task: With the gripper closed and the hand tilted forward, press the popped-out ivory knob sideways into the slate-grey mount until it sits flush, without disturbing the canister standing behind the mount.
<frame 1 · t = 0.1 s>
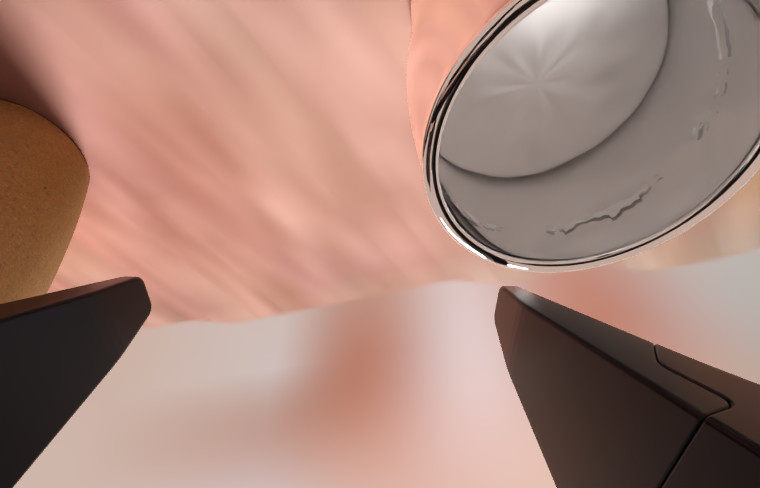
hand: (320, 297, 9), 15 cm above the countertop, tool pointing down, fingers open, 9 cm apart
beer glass: (472, 2, 18), on the countertop
plant pot: (29, 148, 25), on the countertop
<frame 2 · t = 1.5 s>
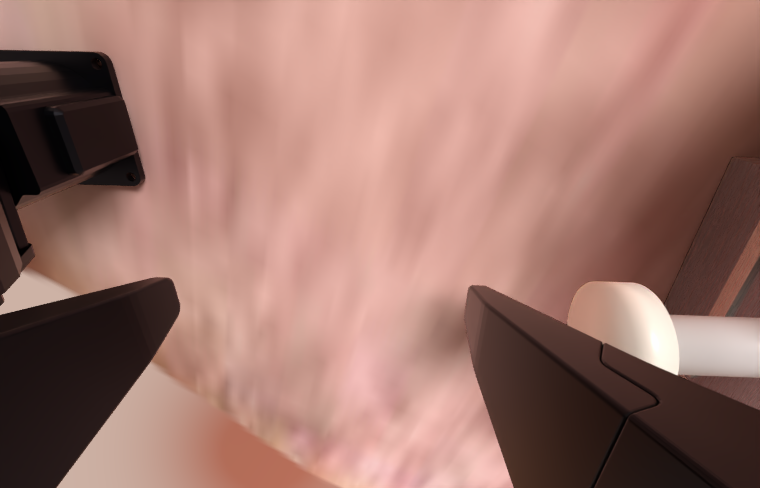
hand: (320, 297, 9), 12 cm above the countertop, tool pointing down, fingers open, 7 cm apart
mount: (680, 257, 22), on the countertop
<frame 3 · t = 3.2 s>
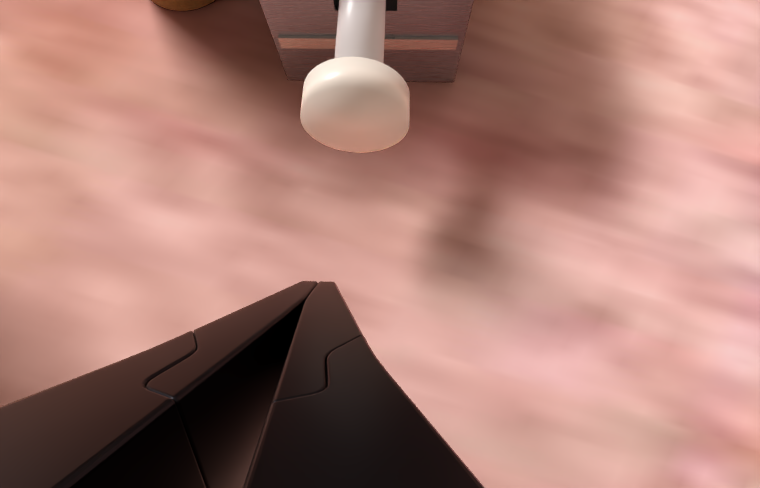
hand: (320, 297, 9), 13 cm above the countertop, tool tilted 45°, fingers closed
knob: (362, 10, 19), point 7 cm above the countertop, slide at 0.0 cm
mount: (370, 84, 27), on the countertop
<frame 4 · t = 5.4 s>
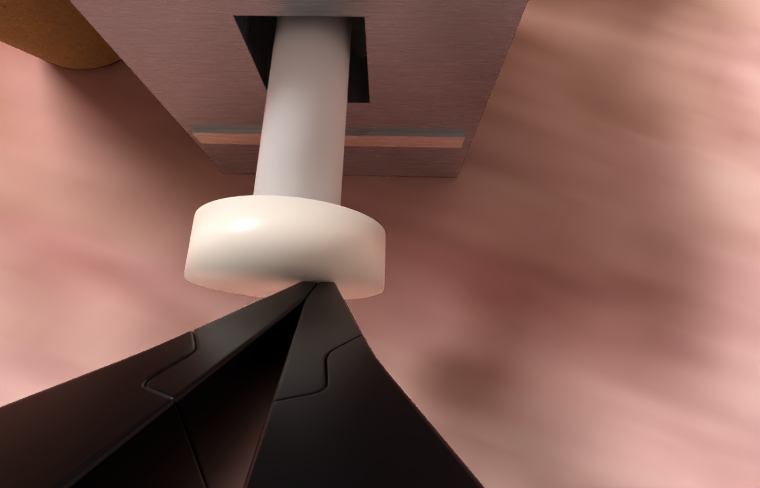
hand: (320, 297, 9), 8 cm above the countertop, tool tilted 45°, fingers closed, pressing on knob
knob: (310, 74, 12), point 8 cm above the countertop, slide at 1.7 cm, touching gripper
plant pot: (99, 26, 22), on the countertop
mount: (338, 180, 19), on the countertop
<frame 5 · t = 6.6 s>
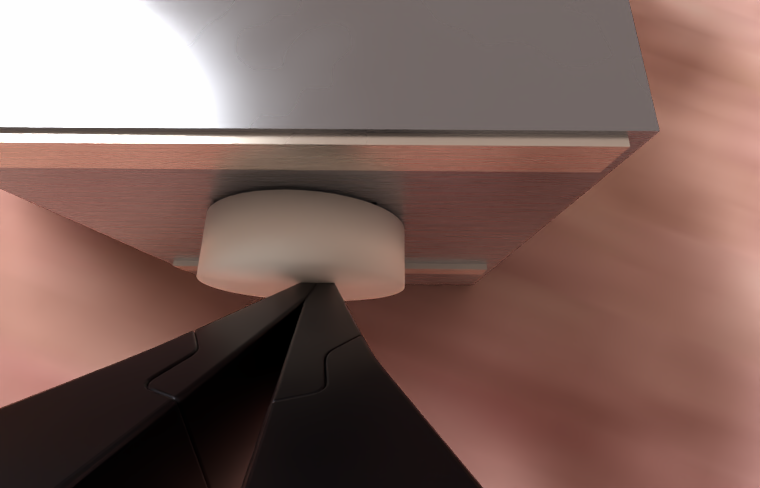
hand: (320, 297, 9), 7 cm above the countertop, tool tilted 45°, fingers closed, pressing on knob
knob: (321, 67, 11), point 8 cm above the countertop, slide at 7.3 cm, touching gripper
mount: (341, 289, 17), on the countertop
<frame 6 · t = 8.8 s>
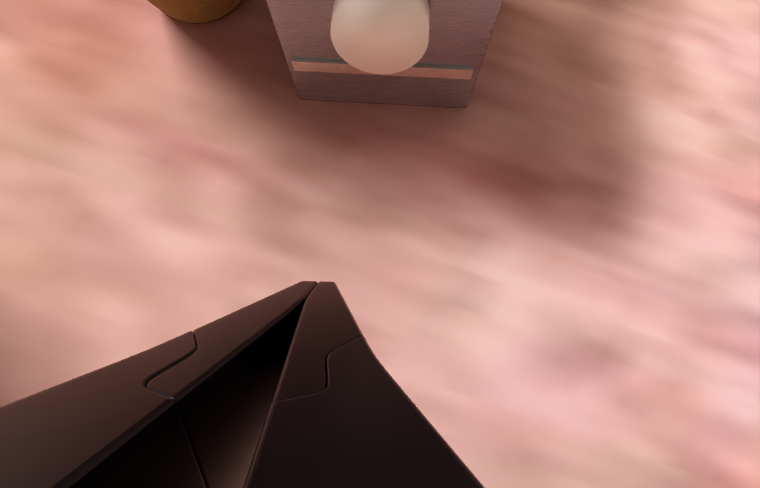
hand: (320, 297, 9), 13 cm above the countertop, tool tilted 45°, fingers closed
mount: (381, 107, 27), on the countertop
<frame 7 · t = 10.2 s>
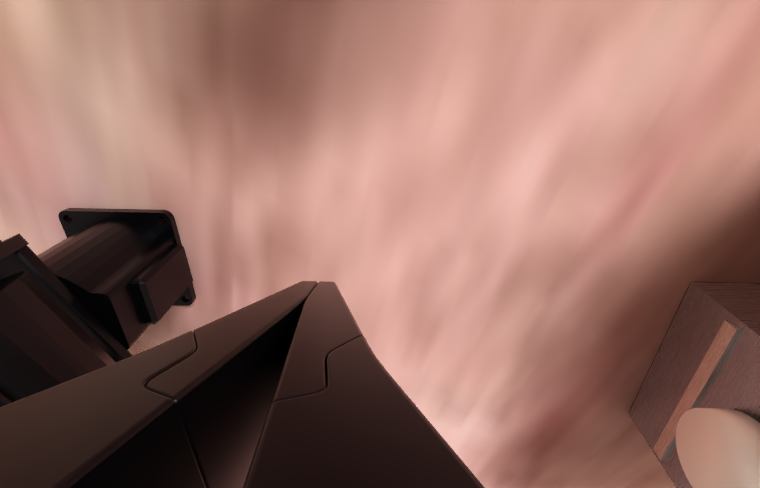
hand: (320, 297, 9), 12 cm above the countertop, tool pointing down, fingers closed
mount: (652, 354, 26), on the countertop
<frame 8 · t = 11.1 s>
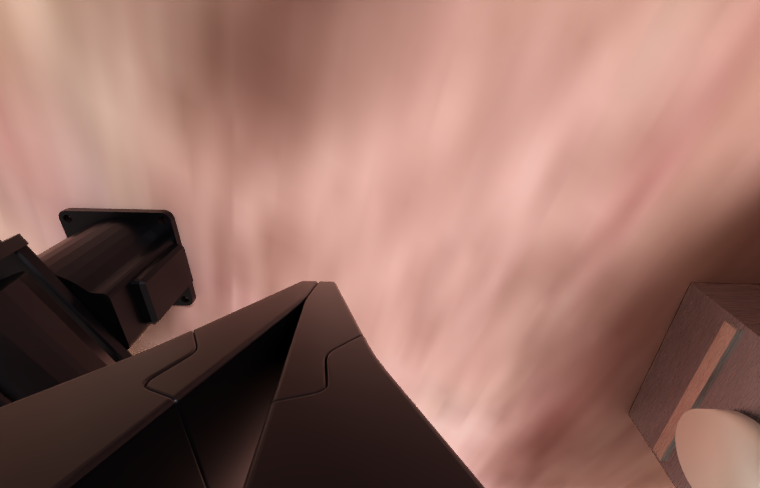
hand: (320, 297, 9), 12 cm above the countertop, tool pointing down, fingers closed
mount: (651, 355, 26), on the countertop
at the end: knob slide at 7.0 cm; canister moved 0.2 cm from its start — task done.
